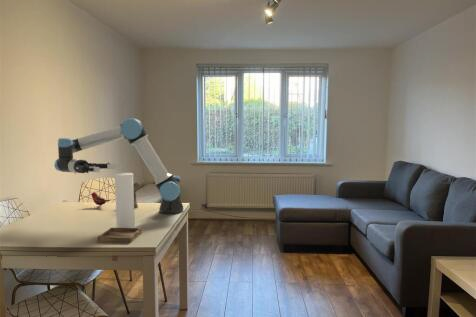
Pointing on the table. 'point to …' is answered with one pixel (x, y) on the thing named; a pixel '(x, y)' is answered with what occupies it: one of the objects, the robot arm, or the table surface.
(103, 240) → the walnut stand tray
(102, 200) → the decorative bird figurine
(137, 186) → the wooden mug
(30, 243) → the table surface
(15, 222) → the table surface
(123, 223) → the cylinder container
